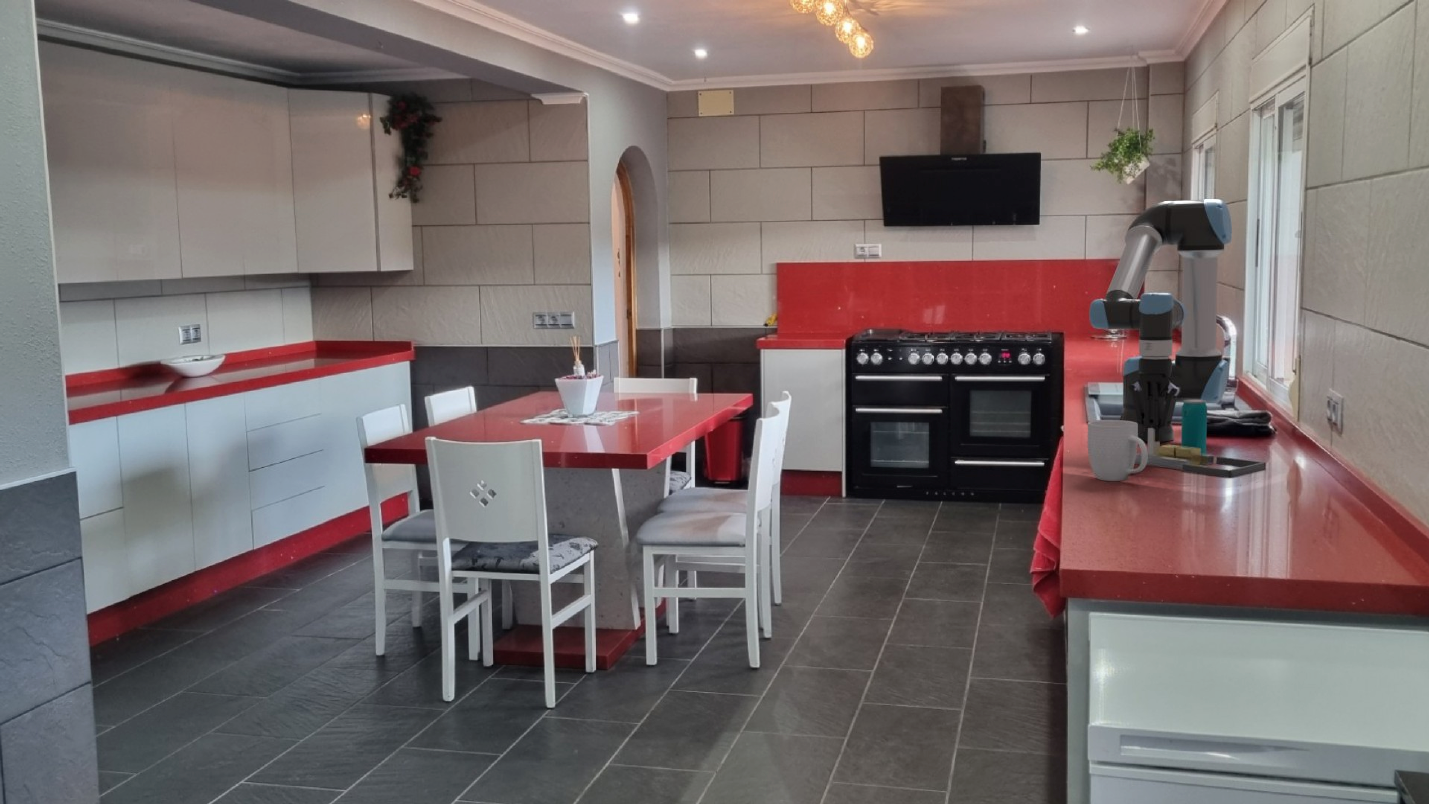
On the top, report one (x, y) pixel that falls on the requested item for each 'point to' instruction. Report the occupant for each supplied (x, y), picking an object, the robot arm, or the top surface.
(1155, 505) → the top surface
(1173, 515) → the top surface
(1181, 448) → the tan cardboard cube
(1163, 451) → the tan block
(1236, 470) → the tray
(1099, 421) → the mug
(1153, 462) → the slot board
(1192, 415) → the beverage can
